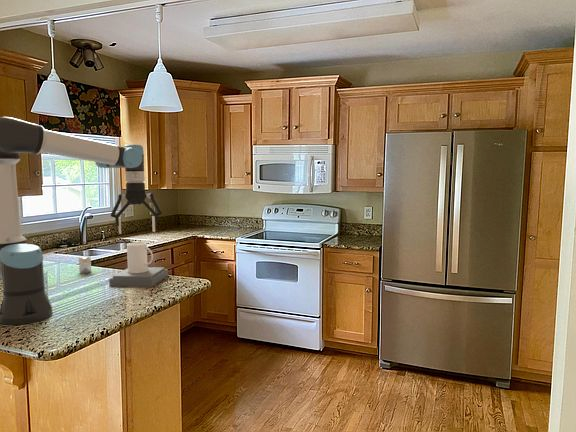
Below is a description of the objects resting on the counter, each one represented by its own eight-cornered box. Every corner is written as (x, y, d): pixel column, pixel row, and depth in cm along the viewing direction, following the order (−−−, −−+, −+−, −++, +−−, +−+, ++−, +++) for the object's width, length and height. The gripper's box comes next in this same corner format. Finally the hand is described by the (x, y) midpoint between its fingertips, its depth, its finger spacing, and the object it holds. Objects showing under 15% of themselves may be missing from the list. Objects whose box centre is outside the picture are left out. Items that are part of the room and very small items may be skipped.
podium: (152, 286, 181) (151, 277, 180) (109, 286, 183) (109, 276, 182) (168, 275, 199) (167, 266, 198) (129, 275, 200) (128, 266, 200)
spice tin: (87, 273, 204) (86, 258, 203) (77, 273, 204) (76, 258, 204) (93, 271, 209) (92, 256, 208) (83, 271, 209) (82, 256, 208)
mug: (158, 270, 192) (157, 242, 191) (145, 274, 184) (144, 246, 183) (136, 268, 196) (135, 241, 195) (123, 272, 188) (121, 244, 187)
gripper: (103, 182, 177) (105, 235, 180) (167, 181, 188) (169, 231, 190) (102, 182, 184) (105, 233, 186) (164, 181, 194) (166, 229, 197)
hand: (137, 232), depth 188 cm, fingers open, 13 cm apart
